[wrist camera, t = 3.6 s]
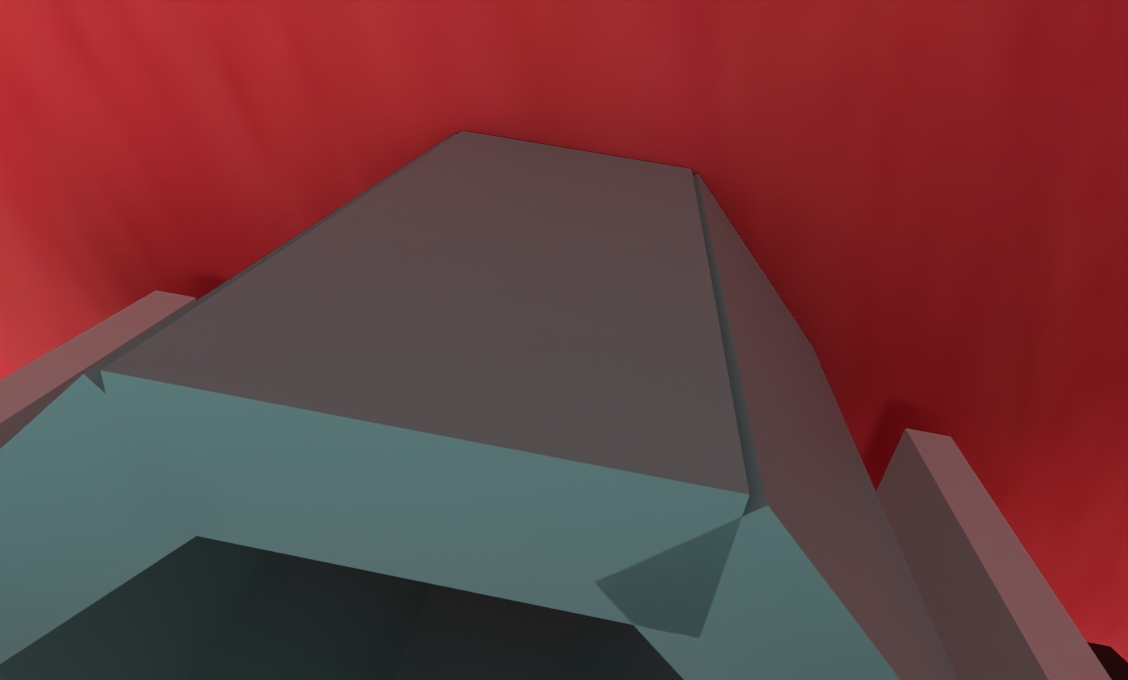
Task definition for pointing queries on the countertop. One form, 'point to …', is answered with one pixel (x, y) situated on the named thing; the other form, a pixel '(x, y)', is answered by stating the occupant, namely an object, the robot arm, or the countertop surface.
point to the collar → (464, 457)
